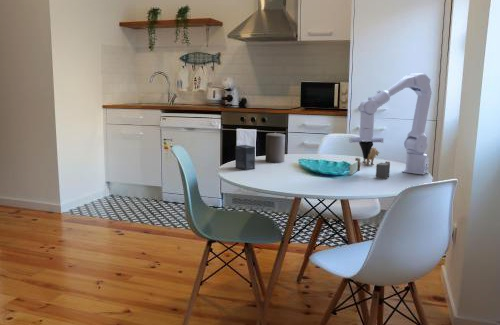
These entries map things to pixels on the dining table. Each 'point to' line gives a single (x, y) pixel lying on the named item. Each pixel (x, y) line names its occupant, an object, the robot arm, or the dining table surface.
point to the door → (353, 167)
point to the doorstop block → (382, 170)
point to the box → (245, 157)
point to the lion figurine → (371, 156)
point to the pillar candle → (275, 147)
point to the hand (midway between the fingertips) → (365, 158)
